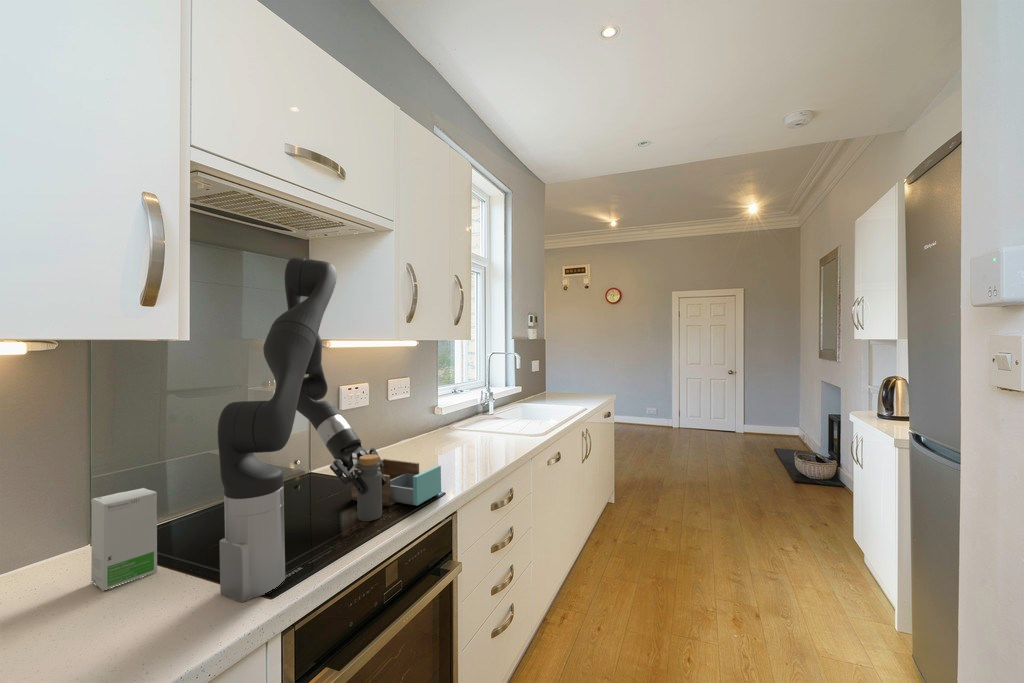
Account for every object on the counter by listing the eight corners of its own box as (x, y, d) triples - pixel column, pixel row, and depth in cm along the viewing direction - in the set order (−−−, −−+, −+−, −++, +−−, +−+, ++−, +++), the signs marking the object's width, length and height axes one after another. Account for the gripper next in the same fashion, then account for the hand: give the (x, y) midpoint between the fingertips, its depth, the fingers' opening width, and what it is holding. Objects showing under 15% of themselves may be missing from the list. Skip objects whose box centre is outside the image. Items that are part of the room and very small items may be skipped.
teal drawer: (417, 505, 114) (416, 477, 114) (380, 499, 119) (380, 471, 119) (441, 492, 124) (440, 465, 124) (406, 486, 129) (406, 461, 129)
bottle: (382, 519, 107) (381, 458, 107) (357, 522, 106) (356, 460, 106) (381, 510, 113) (381, 452, 113) (357, 513, 111) (357, 454, 111)
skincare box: (102, 593, 77) (101, 505, 77) (89, 583, 81) (87, 498, 81) (159, 571, 85) (158, 491, 85) (145, 563, 88) (144, 485, 88)
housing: (388, 506, 116) (388, 476, 116) (351, 499, 122) (351, 470, 122) (419, 490, 128) (419, 463, 128) (384, 484, 134) (384, 458, 134)
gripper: (323, 432, 106) (361, 488, 101) (366, 422, 119) (402, 471, 114) (308, 452, 108) (345, 507, 103) (352, 440, 121) (386, 488, 116)
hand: (374, 488), depth 109 cm, fingers closed on bottle, 5 cm apart
